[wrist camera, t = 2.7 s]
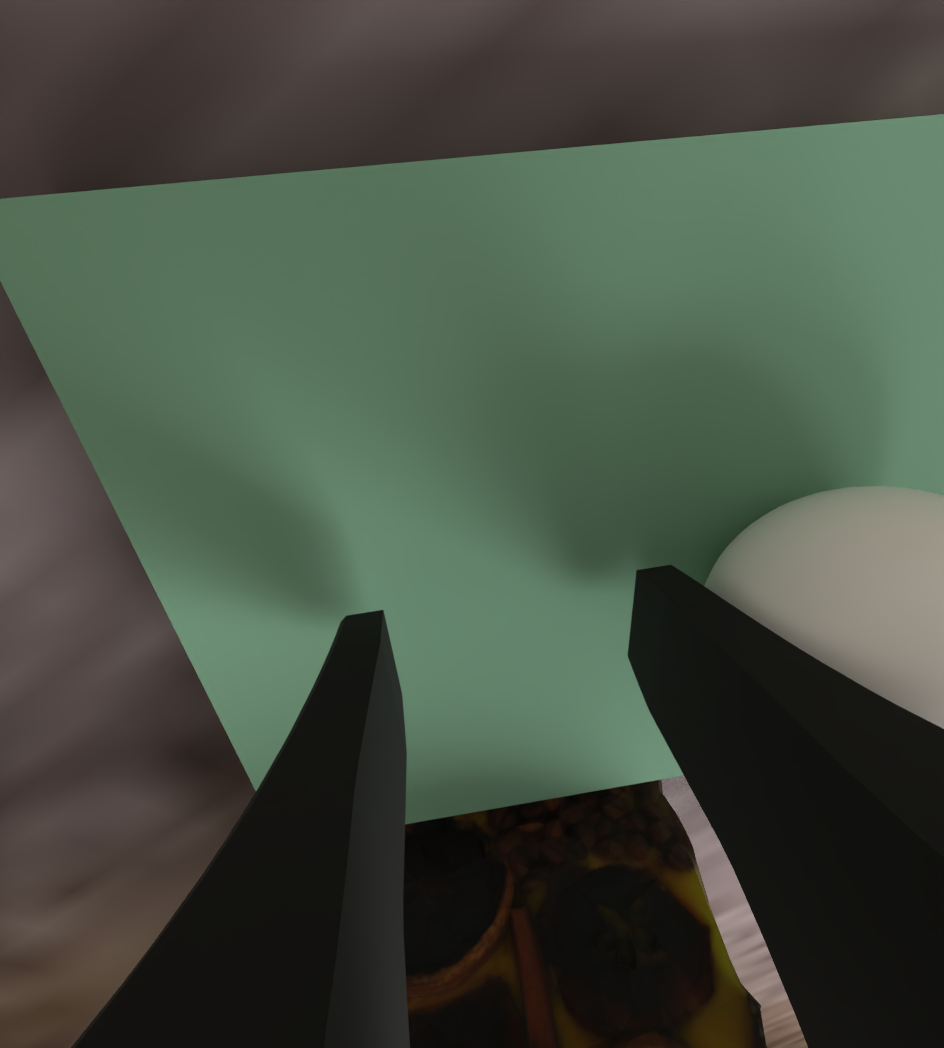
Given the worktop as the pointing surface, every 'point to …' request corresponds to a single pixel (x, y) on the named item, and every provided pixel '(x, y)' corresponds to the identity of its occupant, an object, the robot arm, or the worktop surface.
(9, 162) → the worktop surface
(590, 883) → the yellow cube with hole
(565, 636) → the green mat
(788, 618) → the ball
